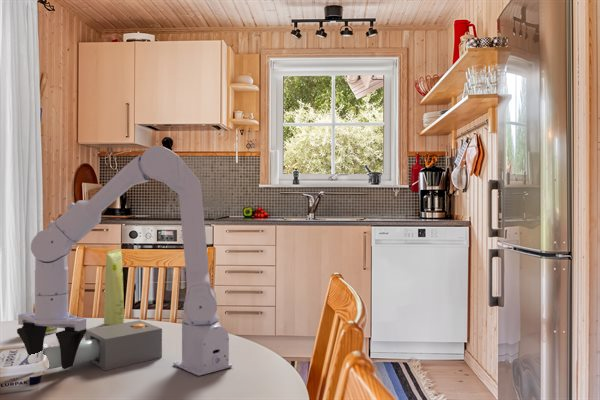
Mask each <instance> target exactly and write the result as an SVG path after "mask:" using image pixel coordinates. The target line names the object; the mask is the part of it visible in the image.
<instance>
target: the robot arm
mask: <svg viewBox="0 0 600 400" xmlns="http://www.w3.org/2000/svg"><path fill="white" fill-rule="evenodd" d="M149 178H150V179H152V180H155V181H158V182H161V183H164V184H165V185H166V186H167V187H168V188H169V189H171V190H173V192H175V193H176V194H177V195H178V200H179V201H178V203H179V210H180V220H181V221H180V222H181V232H182V233H181V234H182V243H183V245H182V246H183V255H184V263H185V264H184V265H185V275H186V276H185V277H186V293H185V296H184V302H183V313H184V316H183V317H182V318H181V359H180V360H179V359H178V360H175V361H173V363H172V364H173V366H175V367H178V368H180V369H182V370H185V371H186V372H189V373H190V374H194V375H196V376H203V375H208V374H210V373H214V372H217V371H222V370H225V369H229V368H232V367H233V363H230V362H229V361H230V355H229V354H230V353H229V352H230V351H229V350H230V345H229V344H230V342H229V341H230V338H229V333H228V330H227V329H226V328H224V327H223V326H222V325H221V323H220V317H219V315H218V314H216V313H217V310H218V301H217V295H216V292H215V290H214V288H213V287H212V285H211V279H210V278H211V277H210V269H209V257H208V248H207V246H208V245H207V236H206V227H205V226H206V225H205V214H204V206H203V205H204V203H203V193H202V192H203V191H202V184H201V181H200V179H199V178H198V177H197V176H196V175H195V173H194V172H193V171H192V170H191V169H190V167H189V166H188V165H187V164H186V163H185V162H184V160H183V159H182V158H181V157H180V155H178V154H177V153H175V152H174V151H172V150H170V149H169V148H166V147H165V146H162V145H154V146H150V147H149V148H146V149H145V151H144V152H143V153H142V155H137V156H136V157H135V158H133V159H132V160H131V161H129V162H128V163H127V164H125V166H124V167H122V169H120V171H118V172H117V173H116V174H115V175H114V176H113V177H111V179H110V180H109V181H108V182H107V183H106V184H104V185H103V186H102V188H101V189H99V190H98V191H97V192H96V193H95V194H94V195H93V196H92V197H91V198H90V199H89V200H83V199H81V200H77V201H76V202H69V204H68V205H67V206H66V209H67V210H66V211H65V212H63V214H62V215H60V216H59V217H58V218H57V219H56V220H55V221H54V220H51V221H50V222H49V223H47V227H48V228H49V229H43V230H40V231H37V233H36V234H35V236H34V237H33V239H32V241H31V243H30V251H31V253H32V255H33V256H34V257H35V258H34V260H35V266H34V269H35V270H34V303H35V313H33V312H24V313H20V314H19V313H18V319H17V321H18V325H20V326H21V327H19V328H17V329H16V334H18V336H19V338H20V339H21V341H22V343H23V345H24V347H25V350H26V352H27V355H28V354H29V355H31V354H35V353H38V352H40V351H42V350H44V344H45V337H46V334H45V333H46V329H47V327H56V328H57V329H62V330H60V331H56V332H55V336H56V339H57V341H58V346H60V351H61V365H62V367H61V369H62V370H67V369H68V368H69V369H70V368H72V367H73V366H74V365H75V364H74V360H75V356H76V353H77V349H78V347H79V344H80V342H81V341H83V340H82V339H83V338H84V336H85V333H86V329H87V318H85V317H80V316H76V315H74V314H73V315H72V314H71V312H70V311H69V265H68V263H69V262H68V261H69V259H68V255H69V254H70V252H71V250H72V248H73V246H74V245H77V244H78V243H79V242H80V241H81V240H82V239H84V238H85V237H86V236H88V234H89V233H90V232H91V231H92V230H93V229H95V228H96V227H97V226H98V225H100V223H101V221H102V213H103V211H104V210H105V209H106V208H108V207H109V206H110V205H112V204H113V203H114V202H115V201H116V200H118V199H119V198H120V197H121V196H123V195H124V194H125V193H127V192H128V191H129V189H131V188H132V187H134V186H135V185H139V184H140V185H141V184H144V183H148V182H150V180H149ZM63 329H64V330H63Z"/></svg>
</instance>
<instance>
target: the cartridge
mask: <svg viewBox="0 0 600 400" xmlns="http://www.w3.org/2000/svg"><path fill="white" fill-rule="evenodd" d="M43 354H44V355H46V356H47V358H48V360H49V365H50V366H49V368H48V369H47V370H52V369H53V370H54V369H58V368H62V365H61V351H60V346H59V345H55V346H49V347H43ZM96 359H100V340H99V339H91V340H86V341H85V340H81V342H80V344H79V347H78V349H77V353H76V356H75V360H74V364H73V365H76V364H81V363H85V362H90V361H91V360H96Z"/></svg>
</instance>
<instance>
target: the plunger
mask: <svg viewBox="0 0 600 400" xmlns="http://www.w3.org/2000/svg"><path fill="white" fill-rule="evenodd" d="M143 327H145V324H134V325H133V328H135V329H138V328H143Z"/></svg>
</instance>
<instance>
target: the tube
mask: <svg viewBox="0 0 600 400" xmlns="http://www.w3.org/2000/svg"><path fill="white" fill-rule="evenodd" d="M123 269H124V268H123V254H122V248H118V249H114V250H109V251H107V252H106V257H105V272H104V273H105V276H104V277H105V278H104V301H103V302H104V305H103V310H104V312H103V314H104V315H103V323H104V326H109V325H115V324H121V323H125V313H124V311H125V310H124V309H125V306H124V305H125V304H124V303H125V302H124V297H125V296H124V272H123V271H124V270H123Z"/></svg>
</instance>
